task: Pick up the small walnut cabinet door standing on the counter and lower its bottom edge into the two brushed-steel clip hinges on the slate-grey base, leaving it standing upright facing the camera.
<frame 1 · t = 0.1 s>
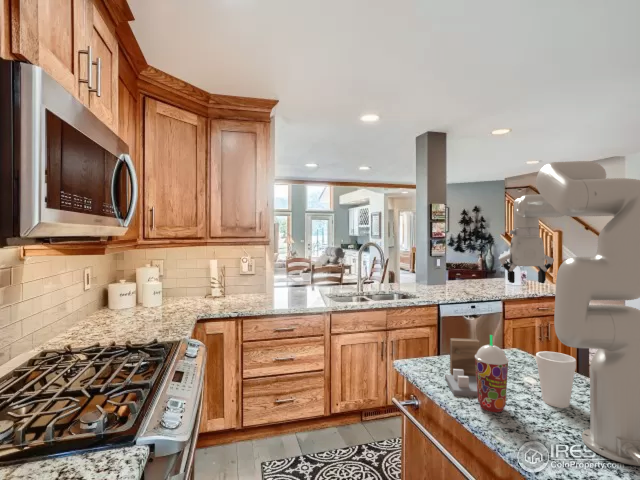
hand: (526, 282, 122), 31 cm above the countertop, tool pointing down, fingers open, 9 cm apart
hinge base: (472, 388, 109), on the countertop
foam cup: (555, 403, 99), on the countertop
door: (464, 374, 120), on the countertop
smoothie: (491, 408, 97), on the countertop
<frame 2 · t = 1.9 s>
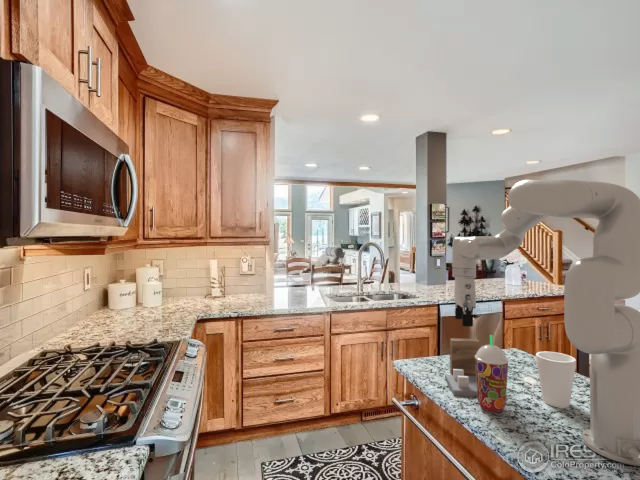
hand: (463, 322, 121), 18 cm above the countertop, tool pointing down, fingers open, 9 cm apart
nothing on the countertop moved.
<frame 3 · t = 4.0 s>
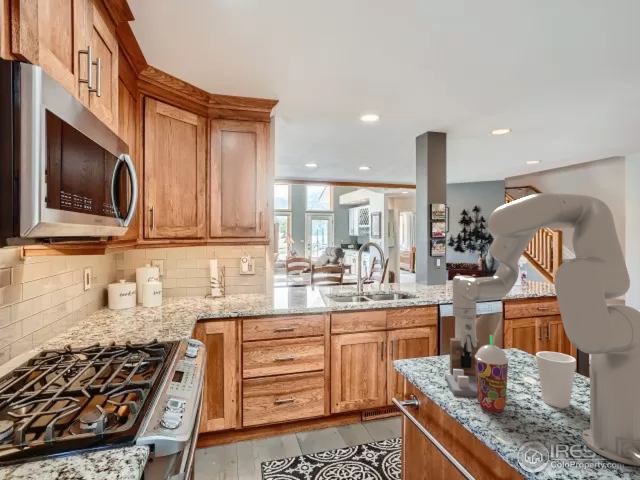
hand: (464, 364, 120), 3 cm above the countertop, tool pointing down, fingers closed on door, 3 cm apart
door: (464, 374, 120), on the countertop, touching gripper
everything else where it was.
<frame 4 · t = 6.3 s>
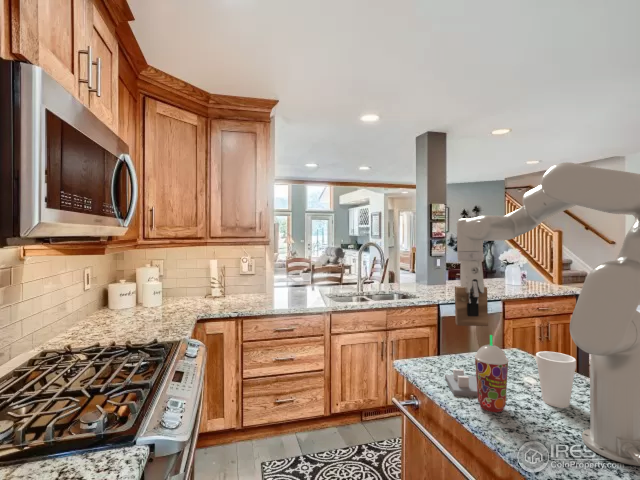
hand: (471, 314, 111), 23 cm above the countertop, tool pointing down, fingers closed on door, 3 cm apart
door: (471, 324, 111), point 19 cm above the countertop, touching gripper
everything else where it was.
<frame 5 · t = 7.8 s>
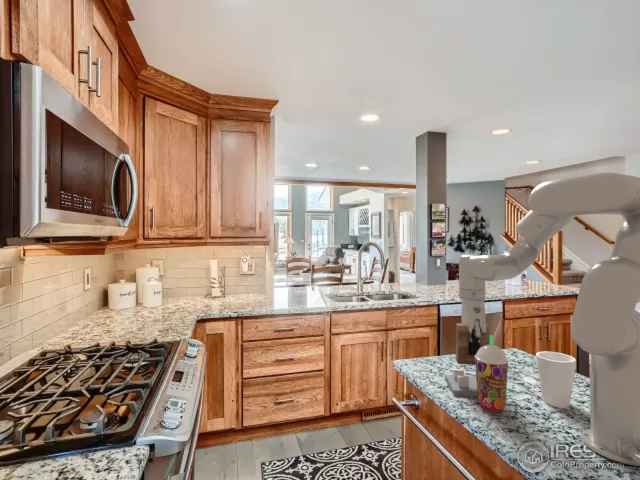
hand: (472, 352, 109), 11 cm above the countertop, tool pointing down, fingers closed on door, 3 cm apart
door: (472, 363, 109), point 8 cm above the countertop, touching gripper
everything else where it was.
when the fingers open (6 cm above the countertop, at t = 9.1 s): door drops 1 cm, resting on hinge base.
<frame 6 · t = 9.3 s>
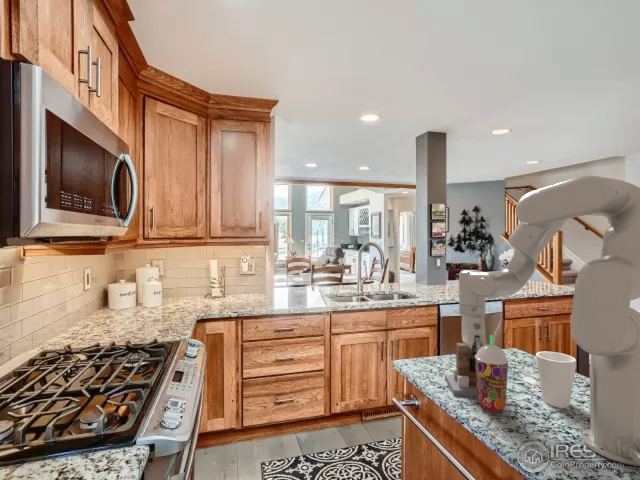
hand: (472, 367, 109), 6 cm above the countertop, tool pointing down, fingers open, 5 cm apart
door: (472, 383, 109), point 2 cm above the countertop, touching hinge base
everything else where it was.
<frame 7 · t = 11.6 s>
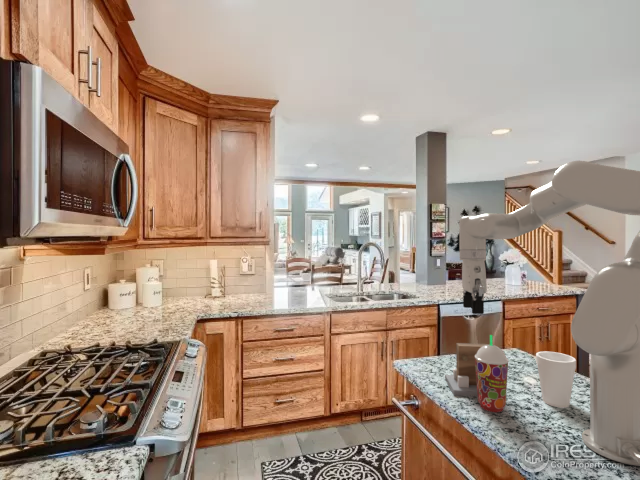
hand: (473, 310, 109), 24 cm above the countertop, tool pointing down, fingers open, 9 cm apart
nothing on the countertop moved.
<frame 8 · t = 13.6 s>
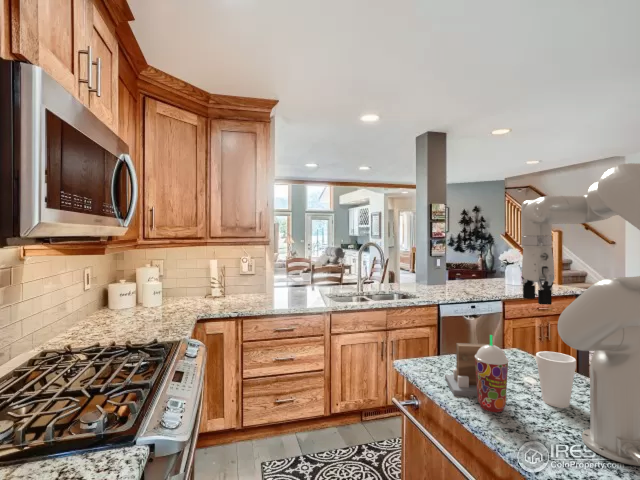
hand: (536, 301, 102), 28 cm above the countertop, tool pointing down, fingers open, 9 cm apart
nothing on the countertop moved.
at the end: door 0.1 cm off-centre on the hinge base, point 1.5 cm above the hinge base's base; door tilted 0°; the gripper is holding nothing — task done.
